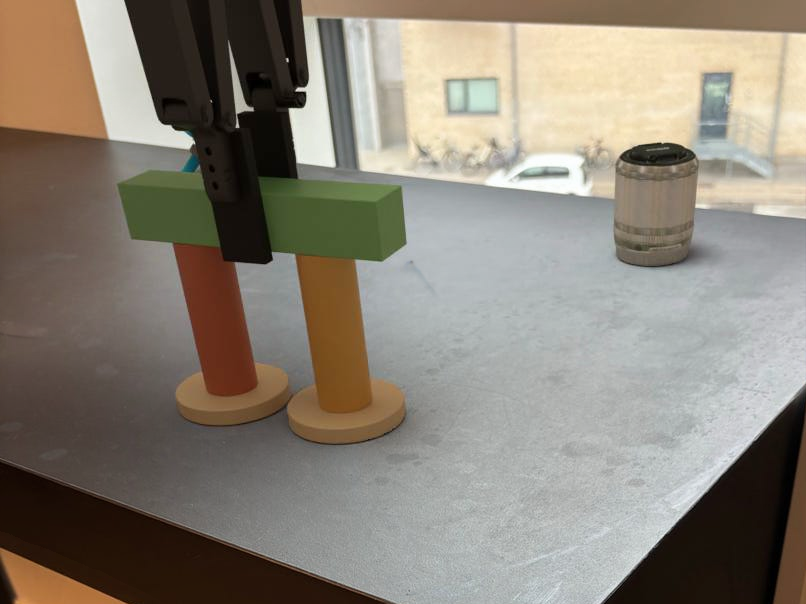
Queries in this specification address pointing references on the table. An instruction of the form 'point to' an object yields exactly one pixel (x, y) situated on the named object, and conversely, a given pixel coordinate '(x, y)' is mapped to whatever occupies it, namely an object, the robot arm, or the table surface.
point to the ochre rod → (339, 361)
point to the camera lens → (655, 203)
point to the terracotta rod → (222, 346)
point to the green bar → (273, 214)
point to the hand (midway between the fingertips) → (266, 249)
